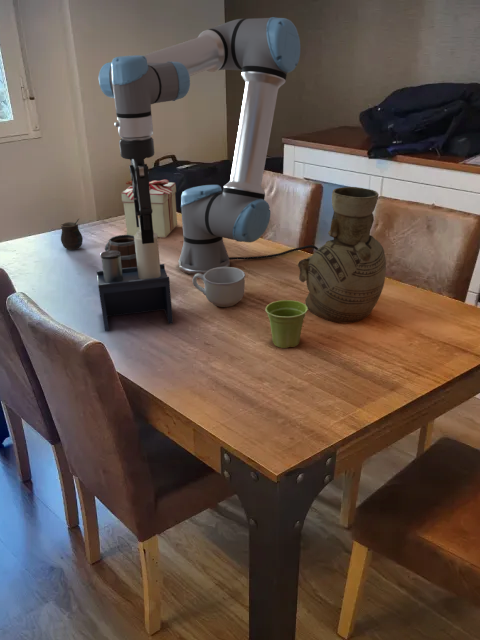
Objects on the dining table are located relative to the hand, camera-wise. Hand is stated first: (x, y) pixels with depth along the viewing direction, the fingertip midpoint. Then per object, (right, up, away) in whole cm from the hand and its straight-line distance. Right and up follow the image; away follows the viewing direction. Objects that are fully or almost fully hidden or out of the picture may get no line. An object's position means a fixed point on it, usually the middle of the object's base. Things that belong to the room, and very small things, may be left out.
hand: (145, 234), depth 150 cm
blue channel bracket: (-3, -18, +11) cm, 22 cm away
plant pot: (+33, -26, -3) cm, 42 cm away
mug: (-8, -7, +29) cm, 31 cm away
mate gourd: (-30, +14, +62) cm, 70 cm away
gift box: (-4, +23, +73) cm, 77 cm away
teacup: (+18, -13, +19) cm, 29 cm away
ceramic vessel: (+48, -17, +9) cm, 52 cm away
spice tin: (-8, -10, +5) cm, 13 cm away
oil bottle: (+1, -8, +6) cm, 10 cm away
